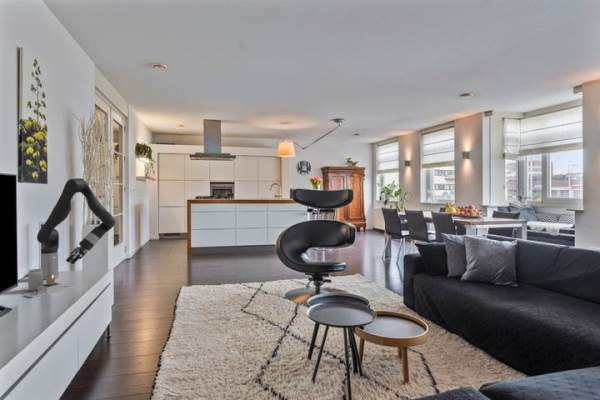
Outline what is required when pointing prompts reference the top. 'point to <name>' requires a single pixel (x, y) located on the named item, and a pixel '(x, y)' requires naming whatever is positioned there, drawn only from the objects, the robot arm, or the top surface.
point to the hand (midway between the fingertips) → (69, 262)
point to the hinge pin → (50, 280)
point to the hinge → (49, 289)
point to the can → (35, 279)
